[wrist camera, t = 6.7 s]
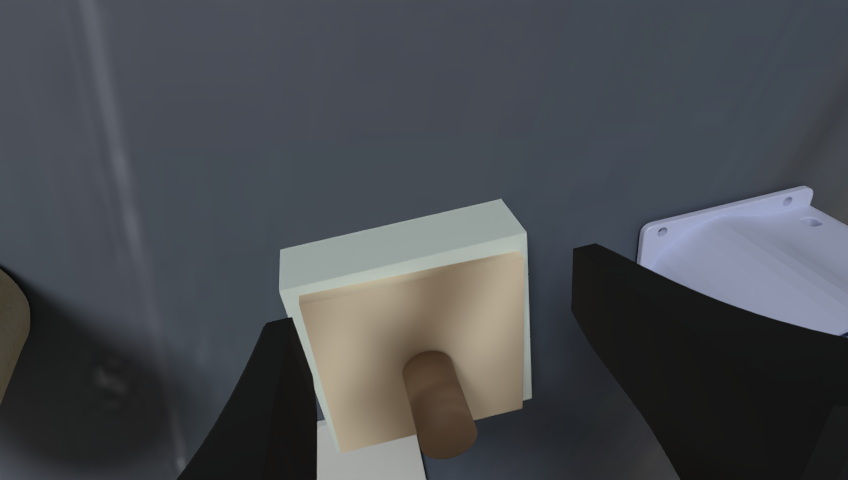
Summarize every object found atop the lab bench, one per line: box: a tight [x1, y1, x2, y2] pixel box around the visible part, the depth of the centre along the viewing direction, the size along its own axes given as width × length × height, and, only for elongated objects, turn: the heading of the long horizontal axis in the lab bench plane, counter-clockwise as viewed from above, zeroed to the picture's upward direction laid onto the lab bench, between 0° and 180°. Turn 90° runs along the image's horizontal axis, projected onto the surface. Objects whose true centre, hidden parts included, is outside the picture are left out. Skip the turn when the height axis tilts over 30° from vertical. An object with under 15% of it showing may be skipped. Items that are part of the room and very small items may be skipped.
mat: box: [317, 420, 426, 480], centre depth 31 cm, size 10×10×1 cm
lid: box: [299, 251, 525, 459], centre depth 21 cm, size 9×9×5 cm
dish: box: [279, 199, 532, 452], centre depth 25 cm, size 10×10×3 cm
